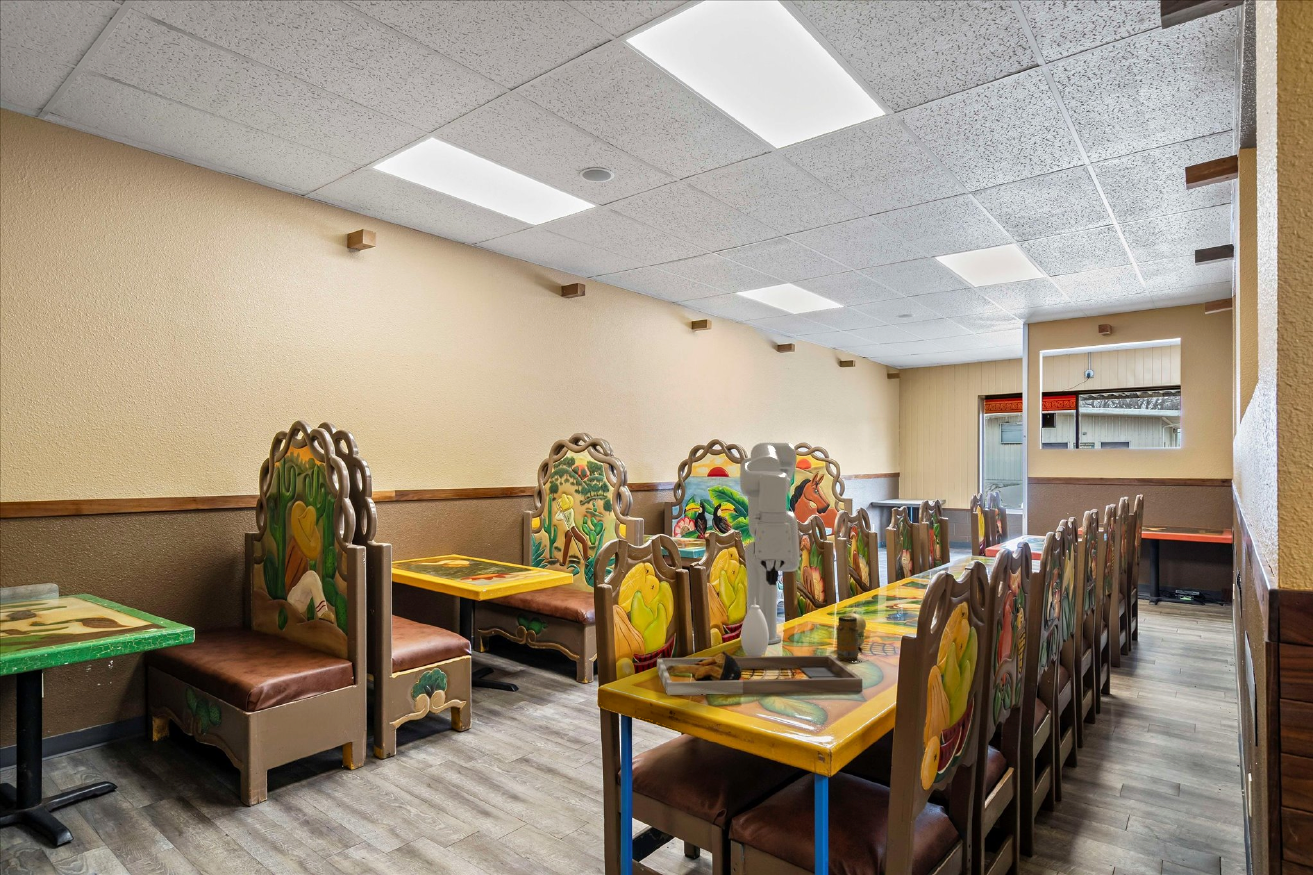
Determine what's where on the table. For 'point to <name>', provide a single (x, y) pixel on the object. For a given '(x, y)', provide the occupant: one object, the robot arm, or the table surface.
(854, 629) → the condiment
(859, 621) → the pale rounded lump
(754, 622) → the white bulb syringe
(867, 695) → the table surface
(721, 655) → the leather work glove
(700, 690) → the tray box
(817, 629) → the table surface
